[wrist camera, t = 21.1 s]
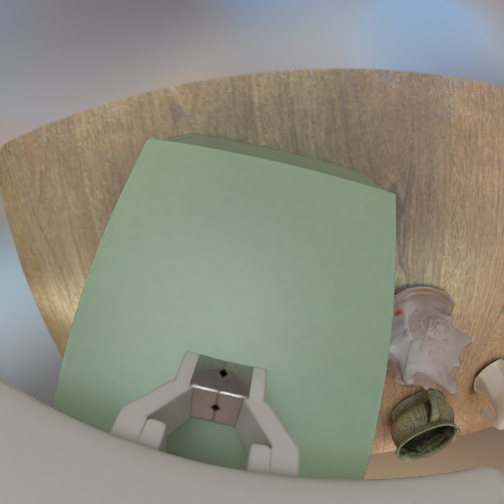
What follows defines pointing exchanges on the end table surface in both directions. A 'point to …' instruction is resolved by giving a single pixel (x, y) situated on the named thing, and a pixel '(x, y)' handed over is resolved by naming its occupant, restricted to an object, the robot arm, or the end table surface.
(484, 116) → the end table surface
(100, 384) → the chest lid
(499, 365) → the figurine
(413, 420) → the vessel
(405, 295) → the seashell
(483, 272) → the end table surface
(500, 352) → the end table surface
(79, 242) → the end table surface
